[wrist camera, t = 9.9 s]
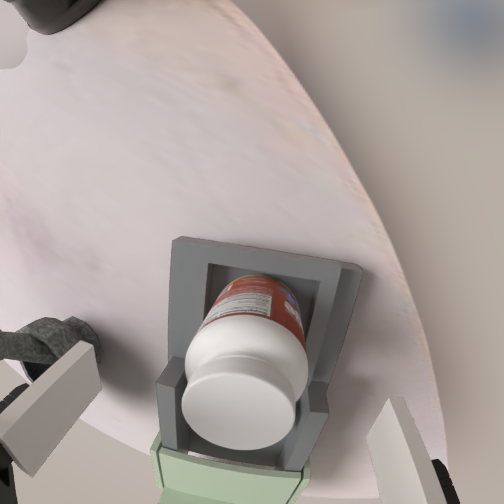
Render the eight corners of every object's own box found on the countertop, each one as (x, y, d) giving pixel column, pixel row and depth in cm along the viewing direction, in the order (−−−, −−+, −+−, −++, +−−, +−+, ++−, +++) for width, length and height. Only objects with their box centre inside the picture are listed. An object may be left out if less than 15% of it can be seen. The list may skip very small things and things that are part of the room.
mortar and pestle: (125, 382, 26) (70, 453, 15) (69, 371, 28) (14, 424, 16) (95, 287, 24) (7, 341, 13) (40, 288, 25) (-35, 327, 14)
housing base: (181, 230, 22) (148, 244, 16) (357, 258, 21) (382, 282, 15) (177, 434, 28) (161, 470, 22) (292, 455, 27) (292, 494, 21)
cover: (160, 429, 22) (138, 472, 17) (309, 456, 21) (311, 504, 16) (165, 470, 24) (150, 506, 19) (288, 493, 23) (286, 532, 18)
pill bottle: (300, 345, 21) (311, 458, 10) (222, 348, 22) (183, 455, 11) (297, 268, 20) (317, 353, 9) (211, 274, 20) (146, 354, 10)
